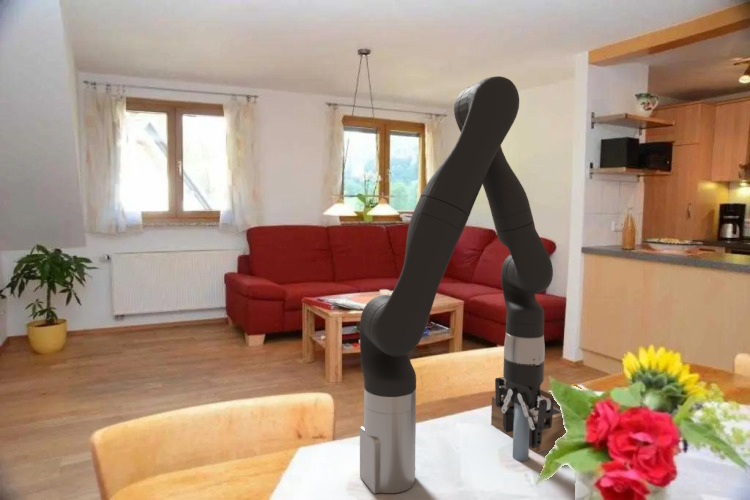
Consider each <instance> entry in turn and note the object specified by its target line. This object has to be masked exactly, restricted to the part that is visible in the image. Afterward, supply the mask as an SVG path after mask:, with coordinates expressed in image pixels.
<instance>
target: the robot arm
mask: <svg viewBox="0 0 750 500" xmlns="http://www.w3.org/2000/svg"><path fill="white" fill-rule="evenodd" d="M453 105H454V106H453V113H454V119H455V122H456V125H457V127H458V129H459V132H460V133H459V136H458V138H457V140H456V143H455V144H454V146H453V148H452V150H451V151H450V152H449V153H448V155H447V156H446V158H445V159H444V160H443V161H442V162H441V164H440V165H439V167H438V168H437V170H436V171H435V172H434V173H433V175H432V176H431V178H430V179H429V180H428V182H427V183H426V185H425V186H424V188H423V191H422V193H421V194H420V196H419V198H418V201H417V203H416V205H415V208H414V210H413V213H412V215H411V218H410V221H409V224H408V229H407V233H406V234H407V235H406V244H405V245H406V246H405V253H404V262H403V267H402V270H401V273H400V275H399V277H398V280H397V282H396V284H395V286H394V288H393V290H392V292H391V295H389V294H388V295H386V294H382V295H378V296H375V297H373V298H372V299H371V300H369V301H368V302H367V304H366V305H365V306H364V308H363V310H362V312H361V315H360V322H359V350H360V351H359V353H360V367H361V372H362V374H363V384H364V385H363V387H364V388H363V391H364V393H363V396H364V397H363V398H364V401H363V403H364V404H363V409H364V411H363V412H364V413H363V415H364V416H363V420H364V421H363V425H362V426H360V428H359V478H360V479H361V480H362V481H363V482H364V483H365V485H366V486H367V487H368V488H369V489H370V491H371V492H372V493H373V494H377V493H379V494H380V493H382V494H383V493H384V494H399V493H402V492H405V491H407V490H409V489H411V488H412V487H413V486H414V484H415V482H416V433H417V431H416V430H417V429H416V428H417V427H416V425H417V424H416V420H417V417H416V416H417V415H416V414H417V374H416V371H415V368H414V366H413V364H412V361H411V358H410V355H409V354H410V353H411V352H413V350H414V349H416V347H418V345H419V343H420V341H421V340H422V339H423V335H424V333H425V332H426V331H425V330H426V327H427V324H428V321H429V318H430V315H431V311H432V308H433V304H434V302H435V299H436V296H437V293H438V290H439V287H440V284H441V282H442V280H443V277H444V275H445V273H446V270H447V268H448V265H449V263H450V261H451V258H452V257H453V253H454V251H455V249H456V246H457V244H458V242H459V240H460V238H461V236H462V234H463V232H464V229H465V227H466V225H467V222H468V220H469V217H470V215H471V213H472V210H473V207H474V205H475V203H476V201H477V198H478V196H479V194H480V193H479V192H480V190H481V189H482V187H483V190H484V192H485V196H486V198H487V202H488V205H489V209H490V213H491V218H492V222H493V224H494V228H495V232H496V235H497V238H498V240H499V242H500V243H501V244H502V245H504V246H505V247H506V248H507V250H508V252H509V255H507V257H506V258H505V260H504V261H503V263H502V267H501V273H500V276H501V277H500V281H501V288H502V293H503V294H502V295H503V299H504V303H505V307H506V315H505V316H506V318H505V338H504V343H503V344H504V345H503V369H502V370H503V372H502V373H503V374H502V376H500V377H496V378H495V380H494V383H495V384H494V385H495V386H494V389H495V396H496V406H497V407H500V408H501V410H502V413H503V427H504V431H505V432H511V431H513V429H514V412H513V411H514V402H515V403H517V404H519V405H520V406H522V409H523V413H524V416H525V417H526V418H527V419H528V422H529V425H530V429H529V447H531V448H537V447H539V446H540V445H541V442H542V430H545V429H550V428H551V427H552V417H553V407H554V400H553V399H552V398H545V397H544V396H542V394H541V390H540V387H541V386H542V385H543V382H544V379H545V377H544V376H545V354H546V353H545V351H546V350H545V349H546V346H545V334H544V333H545V311H544V307H543V306H542V305H541V304H540V303H539V302H538V301H537V297H536V294H540V293H542V292H544V291H546V290H547V289H548V288H549V287H550V285H551V284H552V281H553V278H554V277H553V276H554V267H553V264H552V263H553V262H552V260H551V257H550V255H549V253H548V251H547V249H546V246H545V244H544V243H543V240H542V239H541V237H540V235H539V233H538V232H537V230H536V226H535V221H534V218H533V214H532V213H533V212H532V209H531V205H530V201H529V197H528V196H527V192H526V191H525V189H524V186H523V184H522V183H521V181H520V180H519V178H518V176H517V175H516V173H515V172H514V170H513V169H512V167H511V165H510V164H509V162H508V160H507V158H506V156H505V154H504V151H503V148H502V145H503V142H504V140H505V138H506V137H507V135H508V133H509V131H510V130H511V128H512V126H513V124H514V123H515V121H516V118H517V115H518V112H519V109H520V95H519V91H518V89H517V86H516V85H515V83H514V82H513V81H512V80H511V79H509V78H508V77H504V76H500V75H499V76H492V77H491V76H490V77H487V78H485V79H482V80H480V81H478V82H475V83H474V84H472V85H470V86H468V87H466V88H465V89H464V90H462V91H460V93H459V94H458V95H457V97H456V99H455V102H454V104H453ZM502 395H503V400H501V396H502ZM533 408H535V411H534V412H530V411H529V410H530V409H533ZM534 416H535V417H536V420H537V422H535V421H534ZM544 420H545V422H544Z"/></svg>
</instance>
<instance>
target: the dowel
mask: <svg viewBox="0 0 750 500" xmlns="http://www.w3.org/2000/svg"><path fill="white" fill-rule="evenodd" d="M529 411H530V410H529ZM529 429H530V425H529V422H528V419H527V418H526V417H525V416H524V413H523V409H522V406H520V405H519V404H517V403H515V402H514V429H513V438H512V458H513V460H516V461H518V462H526V461H528V460H529V453H530V449H529Z"/></svg>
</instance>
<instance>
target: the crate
mask: <svg viewBox="0 0 750 500" xmlns="http://www.w3.org/2000/svg"><path fill="white" fill-rule="evenodd" d="M540 390H541V394H542V396H544V397H545V398H552V399H553V400H554V398H553V396H552V394H551V393H552V392H551V391H549V390H547V389H545V388H543V387H541V386H540ZM501 400H503V395H502V396H501ZM534 411H535V408H533V409H530V412H534ZM513 412H514V411H513ZM490 413H491V417H490V419H491V420H490V425H491V426H493V427H494V428H496V429H498V430H499V431H501V432H502V433H504V434H505V435H507V436H509V437H510V438H512V439H513V431H511V432H505V431H504V427H503V413H502V410H501V408H500V407H497V406H496V395H494V396H491V412H490ZM534 421H535V422H537V420H536V417H535V416H534ZM544 422H545V420H544ZM565 433H566V430H565V428H564V425H563V418H562V413H561V410H560V406H559V405H558V404H557V402H556V401H555V400H554V407H553V417H552V427H551V428H550V429H545V430H542V442H541V445H540V446H539V447H537V448H531V447H529V450H531V451H533V452H534V453H536V454H537V453H540V452H544V451H547V450H550V449H553V448H552V447H554V445H555V441H556V440H557V439H558V438H560V437H562V436H563V435H564V434H565Z"/></svg>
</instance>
